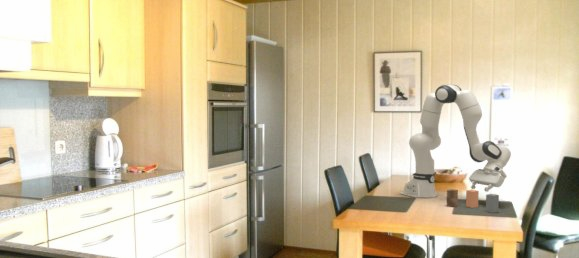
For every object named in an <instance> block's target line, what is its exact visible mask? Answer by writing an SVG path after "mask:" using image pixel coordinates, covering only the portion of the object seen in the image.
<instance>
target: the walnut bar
mask: <svg viewBox="0 0 579 258" xmlns="http://www.w3.org/2000/svg"><path fill="white" fill-rule="evenodd" d="M458 191H459V190H458V189H453V188H449V189H447V190H446V207H451V208H456V207H458V204H459V203H458V199H459V198H458V196H459V195H458V193H459V192H458Z"/></svg>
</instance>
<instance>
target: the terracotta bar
mask: <svg viewBox="0 0 579 258" xmlns="http://www.w3.org/2000/svg"><path fill="white" fill-rule="evenodd" d="M465 191H466V192H465V193H466V195H465V196H466V197H465V199H466V200H465V206H466V207H467V208H471V209H475V208H476V209H477V208H479V190H475V189H468V190H465ZM466 207H465V208H466Z"/></svg>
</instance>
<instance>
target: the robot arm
mask: <svg viewBox="0 0 579 258" xmlns="http://www.w3.org/2000/svg"><path fill="white" fill-rule="evenodd" d="M452 103H455V104H456V105H457V107H458V109H459V112H460V115H461V117H462V121H463V122H462V123H463V130H464V132H465V133H464V134H465V137H466V139H467V143H468V146H469V147H468V148H469V149H468V150H469V155H470V156H469V157H470V158H471V159H472V160H473V162H475V163H482V162H485V161H487V162H486V164H485V165H484V167H483V168H482V169H481V168H478V169H476V170H474V171H473V172H472V174H471V175H470V176H469V178H468V180H469V181H470V182H471V187H470V188H471V190H475V189H476V187H477V186H476V185H484V186H486V187H484V189H483V190H484V191H485V192H487V193H488V192H489V191H490V190H492V189H493V188H500V187H502V186H503V184H504V182H505V179H506V178H507V177H508V176H507V174H506V173H505V171H504V170H503V169H504V167H506V166H507V164H508V162H509V161H510V158H511V156H512V153H511V151H510V149H509V148H508V147H507V146H505V145H499V144H496V143H495V142H493V141H491V140H487V141H484V142H480V138H479V135H478V132H477V126H478V124H479V122H480V120H481V119H482V118H483V117H482V116H483V112H482V109H481V105H480V103H479V101H478V99H477V96H476V95H475V94H474V93H473V91H472V90H471V89H462V88H461V87H460V86H458V85H457V84H451V83H450V84H442V85H440V86H438V87H437V88H436V89H435V92H430V93H429V94H427V95H426V97H425V100H424V102H423V104H422V108H421V109H422V110H421V114H420V120H419V123H420V125H421V129H422V130H421V132H419V133H415V134H414V135H412V136H411V137H410V138H409V141H408V145H409V148H410V149H411V150H412V152H413V155H414V159H415V172H414V173H412V175H411V176H413V178H411V179H410V180H409V181H407V182H406V183H405V184H404V189H403V190H402V191H400V193H399V194H401V195H405V196H409V197H410V198H411V197H412V198H425V199H426V198H427V199H428V198H430V199H431V198H436V197H437V191H436V187H435V179H436V173H435V160H434V158H433V157H432V154H431V151H432V150H433V151H434V150H436V149H437V148H438V147H440V146H441V145H442V144H441V143H442V140H441V139H442V138H441V137H440V133H439V124H440V119H441V114H442V111H443V110H442V108H443V106H444V104H452Z"/></svg>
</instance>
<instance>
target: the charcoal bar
mask: <svg viewBox="0 0 579 258" xmlns="http://www.w3.org/2000/svg"><path fill="white" fill-rule="evenodd" d="M499 197H500V195H499V194H496V193H495V194H494V193H487V194H485V198H486V199H485V200H486V201H485V212H486V213H492V214H496V213H499V203H500V201H499V199H500V198H499Z"/></svg>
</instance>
